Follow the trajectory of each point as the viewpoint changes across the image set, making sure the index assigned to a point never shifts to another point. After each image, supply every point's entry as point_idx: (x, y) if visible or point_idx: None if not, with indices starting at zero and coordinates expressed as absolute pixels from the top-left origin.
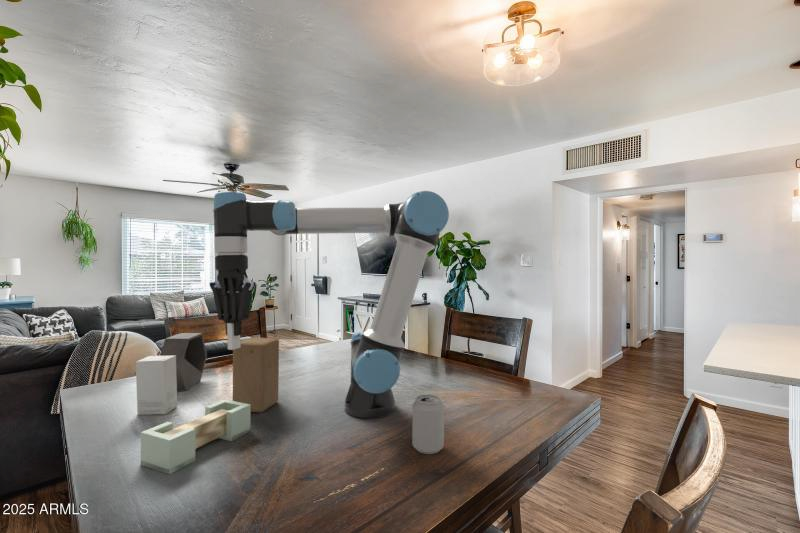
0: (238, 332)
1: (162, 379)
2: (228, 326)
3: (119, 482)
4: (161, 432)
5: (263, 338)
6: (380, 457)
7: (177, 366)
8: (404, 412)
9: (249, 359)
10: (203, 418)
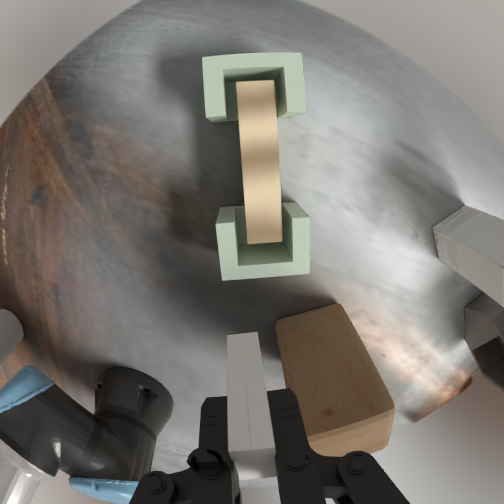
0: (203, 416)
1: (479, 248)
2: (258, 430)
3: (260, 28)
4: (283, 87)
5: None
6: (21, 282)
7: (496, 316)
8: (93, 395)
9: (328, 393)
10: (269, 180)
